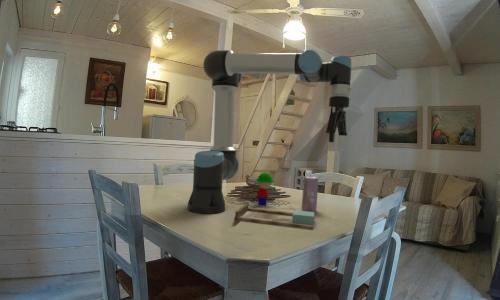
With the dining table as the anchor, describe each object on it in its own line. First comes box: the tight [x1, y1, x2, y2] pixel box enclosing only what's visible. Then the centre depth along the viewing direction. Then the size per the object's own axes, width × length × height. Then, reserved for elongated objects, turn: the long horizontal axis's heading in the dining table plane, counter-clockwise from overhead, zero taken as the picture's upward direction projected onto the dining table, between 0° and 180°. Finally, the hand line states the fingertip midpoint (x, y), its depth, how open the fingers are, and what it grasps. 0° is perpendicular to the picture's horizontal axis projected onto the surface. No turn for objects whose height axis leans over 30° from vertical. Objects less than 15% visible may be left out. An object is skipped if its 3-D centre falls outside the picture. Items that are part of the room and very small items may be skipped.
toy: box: [255, 171, 275, 207], centre depth 131 cm, size 8×8×15 cm
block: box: [291, 209, 315, 227], centre depth 102 cm, size 7×7×3 cm
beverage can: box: [301, 176, 319, 212], centre depth 122 cm, size 6×6×15 cm
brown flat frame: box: [233, 203, 314, 230], centre depth 104 cm, size 26×16×4 cm, turn 76°
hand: (336, 151), depth 116 cm, fingers open, 13 cm apart
